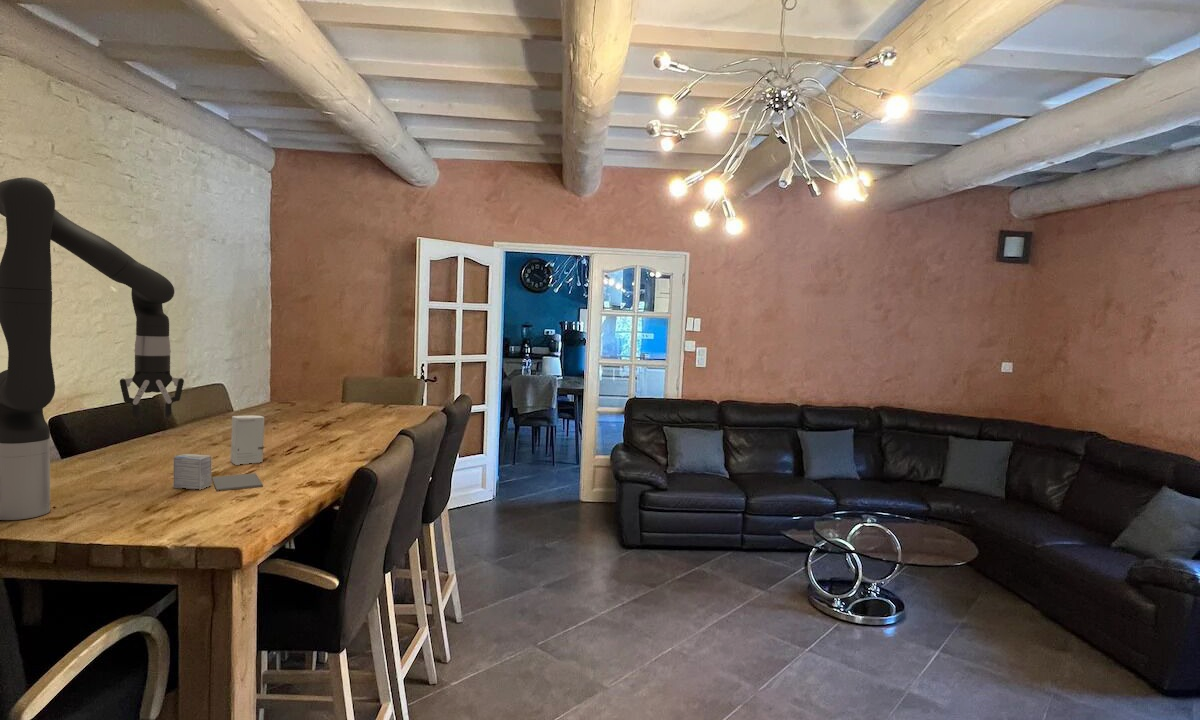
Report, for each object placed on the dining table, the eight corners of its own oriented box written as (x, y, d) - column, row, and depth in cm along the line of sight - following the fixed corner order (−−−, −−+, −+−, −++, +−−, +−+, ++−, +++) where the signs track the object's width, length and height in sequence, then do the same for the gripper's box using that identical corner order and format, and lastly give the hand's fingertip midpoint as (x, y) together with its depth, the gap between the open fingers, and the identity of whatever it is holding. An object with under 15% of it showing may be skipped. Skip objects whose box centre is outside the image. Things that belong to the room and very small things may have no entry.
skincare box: (234, 465, 196) (235, 418, 195) (229, 462, 200) (230, 415, 199) (264, 462, 201) (265, 416, 200) (258, 459, 206) (259, 413, 205)
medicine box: (212, 486, 173) (212, 455, 172) (200, 490, 169) (200, 458, 168) (185, 484, 174) (185, 453, 173) (172, 488, 169) (172, 456, 169)
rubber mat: (216, 491, 168) (216, 489, 168) (211, 479, 180) (211, 477, 180) (262, 486, 175) (262, 484, 175) (255, 475, 186) (255, 473, 186)
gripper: (117, 354, 156) (117, 421, 157) (186, 354, 165) (186, 418, 166) (118, 352, 162) (118, 417, 163) (185, 352, 171) (184, 414, 172)
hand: (152, 417), depth 165 cm, fingers open, 5 cm apart
